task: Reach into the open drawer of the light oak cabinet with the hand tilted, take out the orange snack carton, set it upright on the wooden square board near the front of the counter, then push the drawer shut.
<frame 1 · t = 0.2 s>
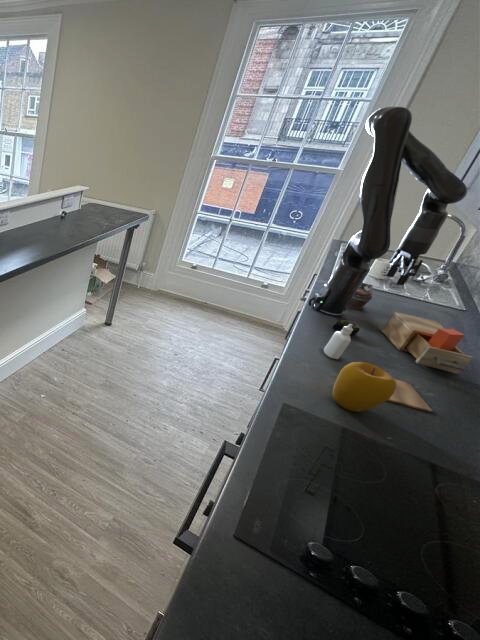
hand: (394, 280, 151), 17 cm above the worktop, tool pointing down, fingers open, 8 cm apart
drawer: (436, 353, 132), point 4 cm above the worktop, slide at 9.0 cm, touching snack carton
eye dropper bottle: (330, 355, 133), on the worktop
cabinet: (409, 344, 144), on the worktop
apple: (347, 405, 111), on the worktop
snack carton: (430, 356, 134), point 2 cm above the worktop, touching drawer
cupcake: (349, 304, 171), on the worktop
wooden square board: (393, 391, 118), on the worktop
tape measure: (343, 333, 148), on the worktop
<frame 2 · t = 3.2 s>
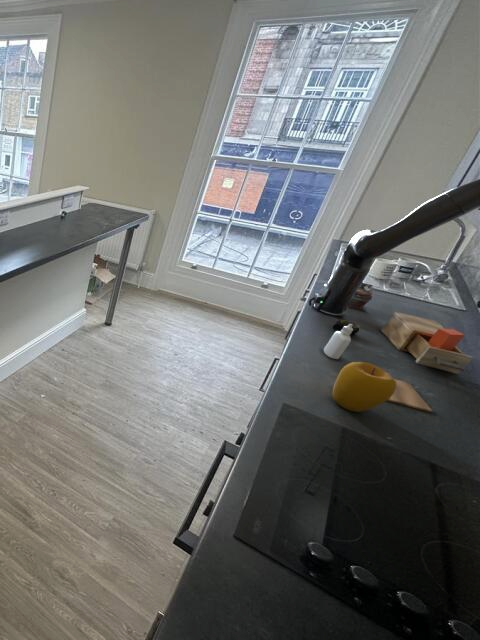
nothing on the worktop moved.
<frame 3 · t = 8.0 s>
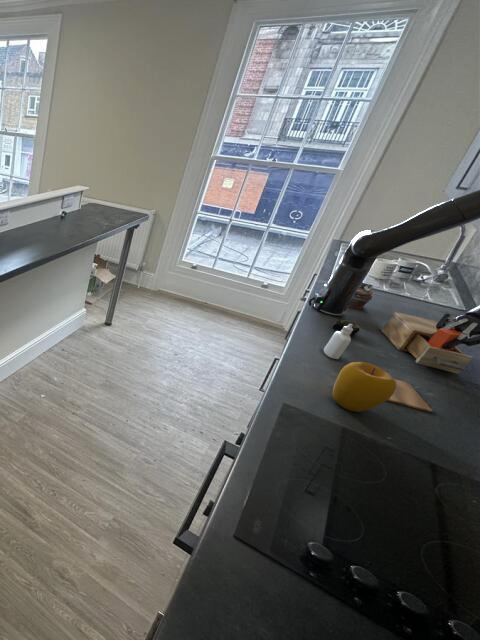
hand: (437, 343, 131), 8 cm above the worktop, tool tilted 45°, fingers closed on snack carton, 3 cm apart
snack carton: (430, 356, 134), point 2 cm above the worktop, touching drawer, gripper
everything else where it was.
when the fingers open (6 cm above the worktop, at t = 18.6 s): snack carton stays where it is, resting on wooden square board.
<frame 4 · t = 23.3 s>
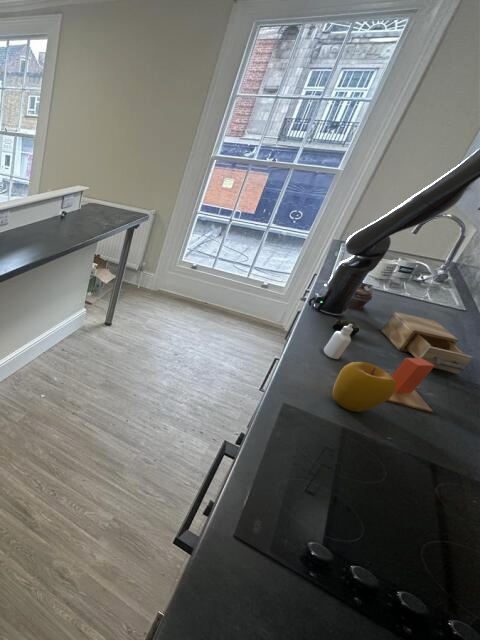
drawer: (436, 353, 132), point 4 cm above the worktop, slide at 9.0 cm
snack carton: (397, 388, 118), point 1 cm above the worktop, touching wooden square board
everything else where it was.
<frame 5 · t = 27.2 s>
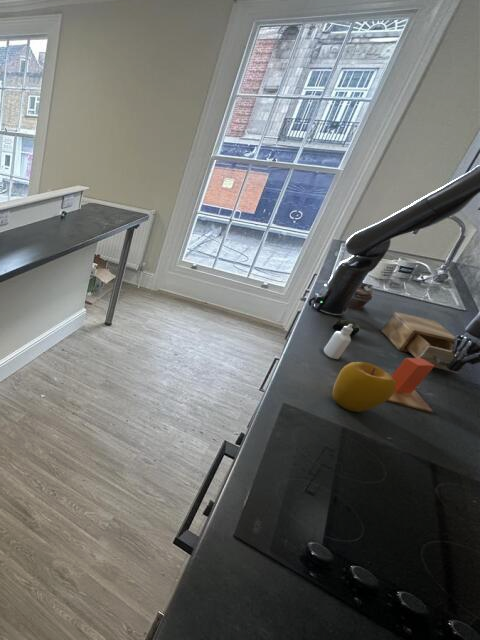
hand: (451, 369, 124), 4 cm above the worktop, tool pointing down, fingers closed
drawer: (435, 352, 132), point 4 cm above the worktop, slide at 8.5 cm, touching gripper
everything else where it was.
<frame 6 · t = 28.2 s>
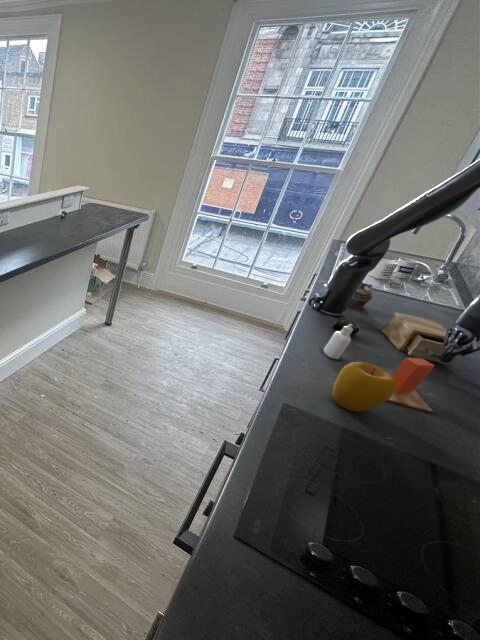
hand: (443, 361, 128), 4 cm above the worktop, tool pointing down, fingers closed
drawer: (428, 345, 136), point 4 cm above the worktop, slide at 3.6 cm, touching gripper
everything else where it was.
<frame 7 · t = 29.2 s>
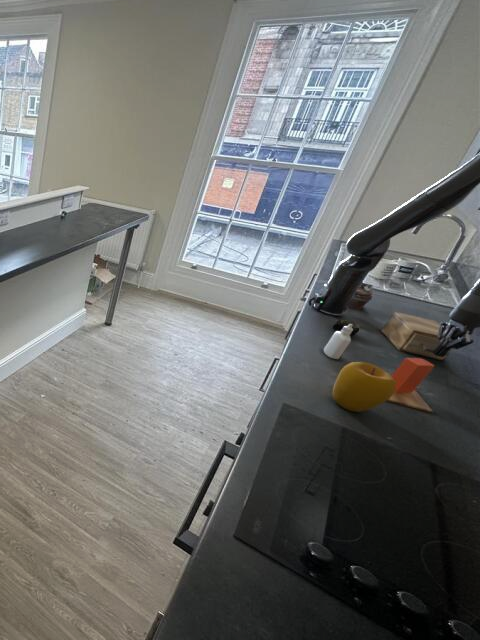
hand: (437, 355, 131), 4 cm above the worktop, tool pointing down, fingers closed
drawer: (422, 340, 139), point 4 cm above the worktop, slide at 0.0 cm, touching cabinet, gripper
everything else where it was.
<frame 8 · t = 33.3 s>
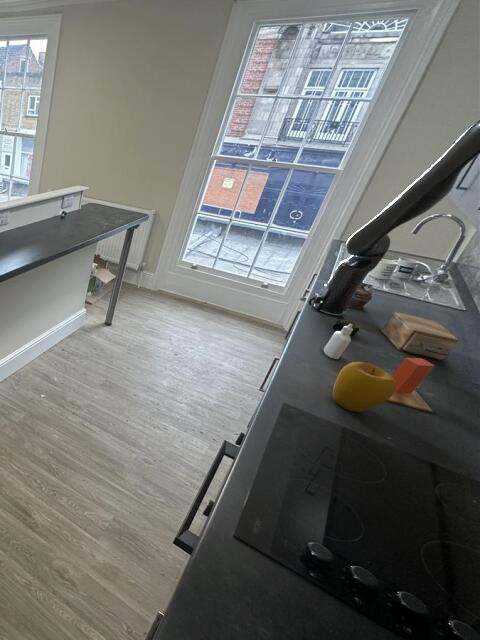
drawer: (422, 340, 139), point 4 cm above the worktop, slide at 0.0 cm
everything else where it was.
at the end: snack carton inside the target area on the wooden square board (1.4 cm from its centre), point 0.6 cm above the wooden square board's base; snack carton tilted 0°; drawer slide at 0.0 cm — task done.
